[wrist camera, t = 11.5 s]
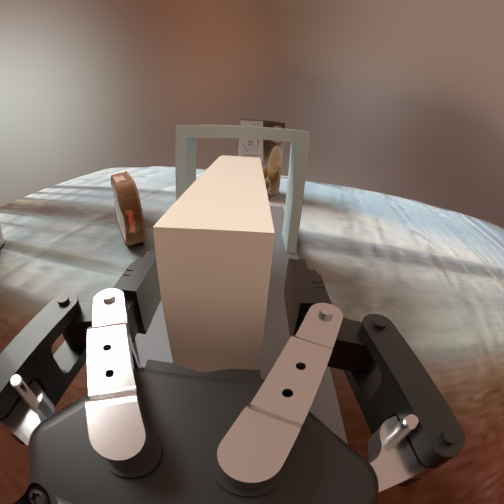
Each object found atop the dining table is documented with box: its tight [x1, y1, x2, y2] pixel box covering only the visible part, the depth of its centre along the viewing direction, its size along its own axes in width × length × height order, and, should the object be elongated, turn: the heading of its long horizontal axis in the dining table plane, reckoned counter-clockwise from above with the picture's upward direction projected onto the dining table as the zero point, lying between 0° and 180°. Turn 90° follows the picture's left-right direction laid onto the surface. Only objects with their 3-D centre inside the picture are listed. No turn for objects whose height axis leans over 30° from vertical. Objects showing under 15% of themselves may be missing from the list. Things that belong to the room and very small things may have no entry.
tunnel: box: [176, 125, 310, 253], centre depth 28 cm, size 13×5×13 cm, turn 90°
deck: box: [135, 206, 347, 444], centre depth 27 cm, size 13×39×2 cm, turn 0°
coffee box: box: [238, 119, 285, 198], centre depth 54 cm, size 9×6×16 cm
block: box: [153, 156, 275, 372], centre depth 17 cm, size 3×17×10 cm, turn 0°
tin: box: [111, 171, 146, 246], centre depth 34 cm, size 15×3×8 cm, turn 32°
